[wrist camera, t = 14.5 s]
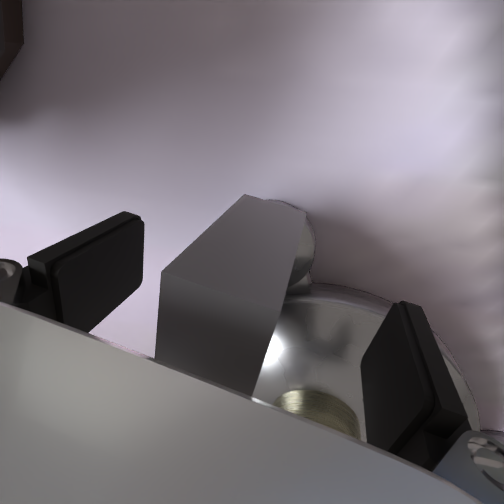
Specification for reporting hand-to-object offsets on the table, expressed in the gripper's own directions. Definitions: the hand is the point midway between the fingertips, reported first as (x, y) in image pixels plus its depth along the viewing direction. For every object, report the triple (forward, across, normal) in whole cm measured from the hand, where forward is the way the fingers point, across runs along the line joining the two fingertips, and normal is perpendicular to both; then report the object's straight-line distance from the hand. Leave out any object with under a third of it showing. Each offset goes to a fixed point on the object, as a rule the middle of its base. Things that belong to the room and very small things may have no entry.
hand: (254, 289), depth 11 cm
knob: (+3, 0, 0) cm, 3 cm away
